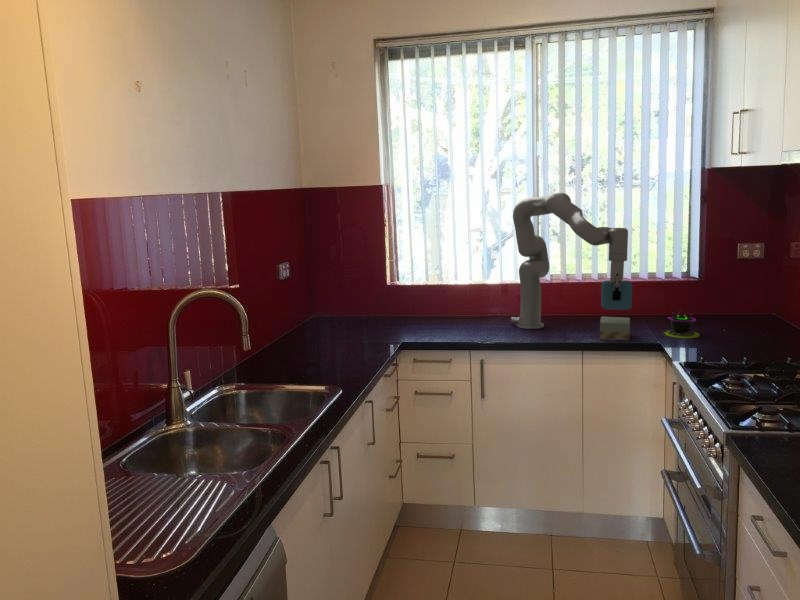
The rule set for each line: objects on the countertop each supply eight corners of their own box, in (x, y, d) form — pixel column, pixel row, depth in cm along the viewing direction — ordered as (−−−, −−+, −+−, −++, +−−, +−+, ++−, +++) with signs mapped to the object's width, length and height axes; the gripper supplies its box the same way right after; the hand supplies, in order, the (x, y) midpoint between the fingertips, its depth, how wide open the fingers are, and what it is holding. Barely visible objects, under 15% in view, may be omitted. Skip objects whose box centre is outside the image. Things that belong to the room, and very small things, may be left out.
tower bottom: (599, 340, 284) (600, 331, 284) (600, 334, 296) (601, 325, 296) (629, 342, 280) (629, 333, 280) (629, 335, 293) (629, 326, 292)
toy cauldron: (703, 333, 292) (705, 308, 290) (694, 340, 281) (695, 314, 279) (668, 329, 301) (669, 305, 299) (657, 335, 290) (659, 310, 288)
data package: (629, 307, 287) (630, 280, 285) (631, 309, 283) (632, 282, 281) (601, 307, 289) (601, 280, 287) (602, 309, 285) (603, 282, 283)
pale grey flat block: (599, 331, 283) (600, 322, 283) (600, 325, 296) (601, 316, 295) (629, 333, 280) (629, 323, 279) (629, 326, 292) (629, 317, 291)
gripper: (608, 254, 291) (607, 295, 294) (608, 259, 275) (607, 302, 278) (626, 255, 289) (625, 296, 292) (627, 259, 273) (625, 302, 276)
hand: (616, 298), depth 285 cm, fingers closed on data package, 5 cm apart
